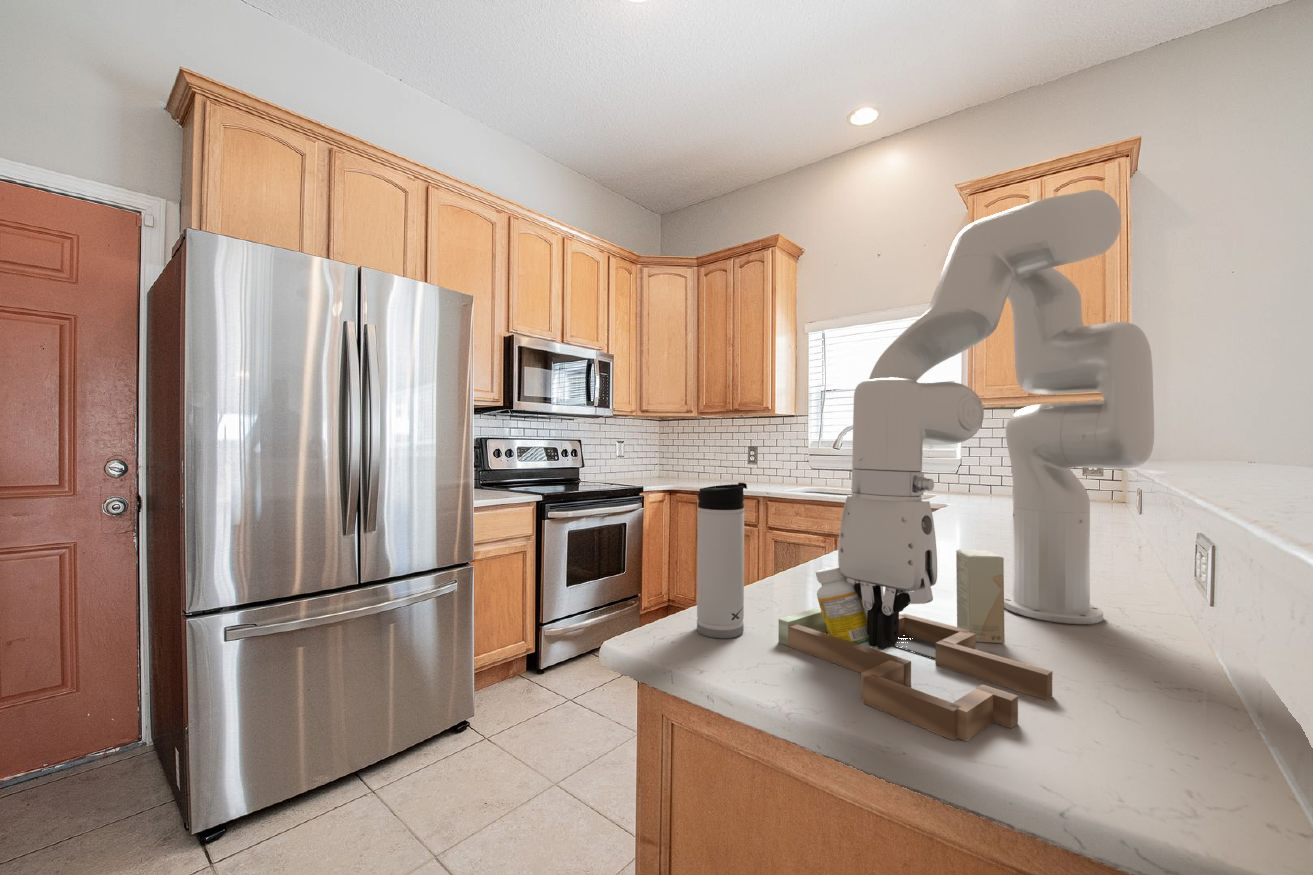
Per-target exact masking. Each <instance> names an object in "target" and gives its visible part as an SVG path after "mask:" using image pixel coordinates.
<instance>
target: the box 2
mask: <svg viewBox="0 0 1313 875" xmlns="http://www.w3.org/2000/svg"><path fill="white" fill-rule="evenodd" d="M955 551H956V552H955V554H956V555H955V556H956V558H955V561H956V564H955V566H956V627H959V628H963V629H966V630H970V631H972V633H974V634H976V642H982V643H995V644H996V643H998V644H1005V639H1006V638H1005V608H1004V595H1005V580H1004V579H1005V578H1004V577H1005V575H1004V574H1005V573H1004V572H1005V570H1004V569H1005V568H1004V564H1005V561H1004V560H1005V558H1004V556H1002V555H999V554H997V553H994V552H992V551H990V550H982V549H981V550H980V549H979V550H978V549H956V550H955Z"/></svg>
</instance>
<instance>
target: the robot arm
mask: <svg viewBox="0 0 1313 875" xmlns="http://www.w3.org/2000/svg"><path fill="white" fill-rule="evenodd" d="M1121 226H1122V215H1121V210H1120V207H1119V205H1118V203H1117V202H1116V200H1115V199H1114V198H1113V196H1112V195H1110V194H1108V193H1107V192H1106V191H1103V190H1100V189H1090V190H1085V191H1079V192H1074V193H1068V194H1062V195H1056V196H1050V197H1046V198H1043V199H1038V200H1035V201H1031V202H1029V203H1026V204H1023V205H1019V206H1015V207H1013V208H1011V209H1007V210H1005V211H1002V212H999V213H995V214H993V215H992V214H991V215H990V216H987V217H983V218H980V219H978V220H976V221H974V222H972V223H970V224H968V225H967V226H965V227H964V228H963V229H962V230H961V231H959V233H958V234H957V235H956V237H955V239H954V240H953V242H952V245H951V247H950V250H949V252H948V256H947V258H946V261H945V263H944V266H943V268H942V271H941V274H940V277H939V279H938V282H937V284H936V286H935V289H934V292H933V294H932V297H931V299H930V302H929V306H928V308H927V309H926V311H925V312H924V313H923V314H922V315H921V316H919V318H917V319H915V321H914V322H913V323H911V324H910V325H909V326H908V327H907V328H906V329H905V330H904V331H903V332H902V333H901V334H900V335H899V336H898V337H896V339H894V341H892V343H890V345H889V346H888V347H887V348H886V349H885V350H884V351H883V353H882V354H881V355H880V356H879V358H878V359H877V361H876V362H875V364H874V366H873V369H872V370H871V373H870V375H869V377H868V379H867V380H863V381H861V382H859V383H858V384H857V385H856V387H855V389H854V392H853V416H852V420H853V421H852V457H851V458H852V461H851V462H852V467H851V468H852V469H851V493H850V494H849V495H846V499H845V502H844V504H843V506H844V507H843V509H842V514H841V520H840V521H841V522H840V529H839V536H838V551H837V564H838V565H837V566H839V571H840V572H841V574H843V575H844V576H845V577H847V578H846V582H847V583H850V584H852V585H853V586H854V590H855V592H856V593H857V594H858V596H859V597H860V598H861V600H862V602H863V607H864V608H865V609H866V610H868V611H867V634H868V635H869V645H870V646H872V647H871V648H875V647H876V648H878V649H879V650H887V649H889V648H891V647H894V645H895V644H896V641H897V640H898V635H899V614H900V612H903V610H904V609H906V607H908V606H909V605H920V604H921V605H924V604H930V603H931V602H932V601H933V600H934V597H933V591H932V587H933V586H935V585H936V584H937V581H938V552H937V550H938V549H937V538H936V532H935V531H936V530H935V524H934V523H935V522H934V516H933V512H932V507H931V503H930V500H927V499H926V500H925V499H922V497H923V496H924V493H925V492H926V491H927V492H932V491H934V487H935V482H934V480H933V478H927V477H925V472H923V445H925V446H927V445H928V446H929V445H930V446H931V445H934V446H935V445H936V446H947V445H957V444H960V443H963V442H966V441H968V440H970V439H971V438H973V437H974V436H975V435H976V434H977V433H978V432H979V431H980V429H981V427H982V424H983V422H984V416H985V415H984V414H985V412H984V405H983V402H982V400H981V398H980V396H979V395H978V394H977V392H976V391H974V390H973V389H972V388H970V387H969V386H968V385H964V384H963V383H958V382H952V381H942V382H918V380H920V378H921V377H922V376H924V375H925V374H926V373H927V372H928V371H930V370H931V369H933V368H934V367H936V366H937V365H939V364H940V363H943V362H944V361H947V360H948V359H951V358H952V357H955V356H957V355H959V354H960V353H963V352H965V351H967V350H969V349H971V348H972V347H974V346H975V345H977V344H979V343H981V342H983V341H984V340H986V339H987V338H989V337H990V336H991V335H992V334H993V333H994V332H995V331H996V329H997V327H998V325H999V323H1000V320H1001V317H1002V313H1003V311H1004V307H1005V304H1006V300H1007V299H1008V300H1009V303H1010V307H1011V310H1012V320H1013V344H1014V345H1013V346H1014V351H1013V352H1014V369H1015V377H1016V382H1017V383H1018V384H1017V385H1019V387H1020V388H1021V389H1022V390H1023V391H1024V392H1026V393H1029V394H1034V395H1065V394H1077V393H1078V394H1079V393H1095V392H1097V393H1098V392H1099V393H1100V394H1101V395H1102V398H1103V400H1102V401H1101V400H1100V401H1079V402H1077V401H1073V402H1070V401H1069V402H1053V403H1052V402H1051V403H1040V404H1033V405H1029V406H1025V407H1022V408H1020V409H1018V410H1017V411H1015V412H1014V413H1013V414H1012V415H1011V416H1010V417H1009V418H1008V421H1007V423H1006V425H1005V426H1006V427H1005V441H1006V445H1007V450H1008V456H1009V459H1010V460H1009V461H1010V465H1011V474H1012V496H1013V497H1012V499H1013V500H1012V502H1013V503H1012V505H1013V509H1012V510H1013V511H1012V548H1013V549H1012V588H1013V589H1012V593H1007V594H1004V609H1006V610H1008V611H1009V612H1012V613H1015V614H1016V615H1020V616H1024V617H1027V618H1031V619H1036V620H1040V621H1045V622H1052V623H1060V624H1068V625H1069V624H1070V625H1093V624H1097V623H1101V622H1103V620H1104V611H1103V610H1102V609H1101V608H1100V607H1098V606H1095V605H1094V604H1091V597H1090V596H1091V584H1090V583H1091V577H1090V576H1091V501H1090V500H1091V499H1090V496H1089V493H1088V490H1086V486H1084V484H1083V483H1082V482H1081V480H1080V479H1079V478H1078V477H1077V476H1076V475H1075V473H1074V472H1073V471H1072V470H1071V468H1073V469H1074V468H1087V469H1090V468H1091V469H1117V470H1118V469H1132V468H1134V469H1135V468H1137V467H1140V466H1142V465H1144V464H1145V463H1146V462H1147V461H1148V460H1149V459H1150V457H1151V455H1152V453H1153V450H1154V444H1155V414H1154V413H1155V412H1154V411H1155V410H1154V378H1153V376H1154V375H1153V374H1154V373H1153V372H1154V371H1153V358H1152V351H1151V346H1150V343H1149V340H1148V337H1147V336H1146V333H1145V332H1144V330H1142V329H1141V328H1140V326H1138V325H1136V324H1134V323H1132V322H1126V321H1125V322H1124V321H1113V322H1111V321H1110V322H1104V323H1099V324H1091V325H1090V324H1089V325H1084V323H1083V312H1082V309H1083V308H1082V296H1081V293H1080V290H1079V289H1078V288H1077V286H1076V285H1075V283H1073V281H1071V279H1070V278H1069V277H1067V276H1065V274H1063V273H1062V272H1060V271H1059V270H1057V269H1056V268H1055V267H1058V266H1064V265H1070V264H1073V263H1078V262H1081V261H1084V260H1087V259H1091V258H1094V257H1097V256H1101V255H1103V254H1104V253H1106V252H1107V251H1108V250H1110V249H1111V248H1112V247H1113V245H1114V244H1115V243H1116V240H1117V239H1118V237H1119V234H1120V231H1121ZM883 587H884V588H885V589H884V588H883Z"/></svg>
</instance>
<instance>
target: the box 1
mask: <svg viewBox="0 0 1313 875" xmlns="http://www.w3.org/2000/svg"><path fill="white" fill-rule="evenodd" d="M826 632H827V633H826ZM903 635H905V636H903ZM898 637H899V638H908V639H906V640H905V639H904V640H903V639H902V640H901V639H898V640H897V641H896V644H895V645H894V646H898V647H902V646H903V647H902V648H904V649H907V650H908V651H907V650H906V651H907V652H910V651H913V652H915V653H914V654H916V653H918V654H917V655H919V654H921V655H920V656H923V655H925V656H924V657H926V656H928V657H927V658H929V657H931V658H930V659H932V658H933V660H935V661H934V662H935V664H937V665H936V666H938V665H939V667H941V666H942V668H945V669H948V670H951V671H955V672H957V673H961V674H964V675H967V676H970V677H972V678H976V679H979V680H983V681H985V682H989V683H991V684H995V685H999V686H1001V687H1004V688H1007V689H1011V690H1014V691H1017V692H1020V693H1023V694H1026V695H1030V696H1032V697H1036V698H1039V699H1042V700H1045V701H1048V700H1049V699H1050V698H1052V697H1053V671H1052V670H1049V669H1045V668H1042V667H1039V666H1035V665H1032V664H1028V663H1024V662H1021V661H1016V660H1014V659H1010V658H1007V657H1003V656H999V655H996V654H992V653H989V652H985V651H982V650H978V649H977V646H976V643H977V641H976V634H974V633H972V631H970V630H966V629H963V628H959V627H957V626H954V625H950V624H948V623H947V624H946V623H943V622H938V621H935V620H931V619H928V618H923V617H919V616H915V615H911V614H907V613H903V614H901V613H899V635H898ZM909 638H911V640H910V639H909ZM912 638H913V639H912ZM897 642H898V643H897ZM899 642H900V643H899ZM901 642H904V643H901ZM905 642H906V643H905ZM907 642H908V643H907ZM778 643H779V644H780V645H784V646H787V647H788V648H789V647H790V648H792V649H795V650H796V651H797V650H798V651H801V652H803V653H806V654H809V655H811V656H814V657H816V658H819V659H822V660H824V661H827V662H830V663H833V664H836V665H838V666H841V667H844V668H847V669H849V670H852V671H855V672H857V673H860V672H861V673H860V699H862V700H863V704H865V705H867V706H869V707H872V708H874V709H876V710H879V711H882V712H884V713H886V714H889V715H890V716H894V717H895V718H898V719H901V720H903V721H906V722H907V723H910V724H913V725H915V726H917V727H919V728H923V729H925V730H927V731H930V732H931V733H935V734H937V735H939V736H941V737H944V738H947V739H949V740H952V741H955V740H956V739H960V740H962V741H965V742H968V741H969V740H970V739H971V738H973V737H974V736H976V735H977V734H978V733H980V732H981V731H983V730H984V729H985V728H987V727H988V726H990V725H991V724H992V723H995V724H998V725H1001V726H1004V727H1006V728H1009V729H1013V728H1014V727H1015V726H1017V725H1018V724H1019V723H1018V722H1019V695H1016V694H1013V693H1010V692H1007V691H1004V690H1001V689H998V688H995V687H992V686H989V685H986V684H981V685H979V686H977V687H976V688H974V689H972V690H971V691H970V692H968V693H966V694H965V695H962V697H960V698H958V699H957V700H955V701H953V702H951V701H948V700H945V699H942V698H940V697H937V696H934V695H931V694H929V693H927V692H923V691H920V690H918V689H915V688H912V687H910V686H911V685H912V660H909V659H905V658H902V657H900V656H897V655H893V654H890V653H888V652H887V653H886V652H884V651H881V650H878V649H874V648H873V647H871V648H869V647H866V646H863V645H860V644H857V643H853V642H850V641H847V640H844V639H841V638H838V637H835V636H832V635H829V634H828V631H827V628H826V625H825V621H824V618H823V615H822V612H821V608H820V606H818V607H815V608H811V609H808V610H804V611H801V612H798V613H795V614H791V615H788V616H784V617H780V618H778ZM894 646H893V647H894ZM906 646H907V647H906ZM913 652H912V653H913ZM935 664H934V665H935Z"/></svg>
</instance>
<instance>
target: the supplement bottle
mask: <svg viewBox="0 0 1313 875" xmlns="http://www.w3.org/2000/svg"><path fill="white" fill-rule="evenodd" d="M815 574H816V580H817V582H818V583H819V584H821V587H819V588H818V589H817V591H816V597H817V601H818V603H819V604H818V605H819V607H820V608H821V612H822V615H823V618H824V621H825V625H826V628H827V631H828V632H827V634H829V635H832V636H835V637H838V638H841V639H844V640H847V641H850V642H853V643H857V644H860V645H863V646H866V647H869V648H873V647H872V646H870V645H869V635H868V634H867V611H868V610H866V609H865V608H864V607H863V602H862V600H861V598H860V597H859V596H858V594H857V593H856V592H855V590H854V586H853V585H852V584H850V583H847V582H846V578H847V577H845V576H844V575H843V574H841V572H840V571H839V566H838V565H834V566H830V567H826V568H822V569H819V570H817V571H815Z"/></svg>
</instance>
